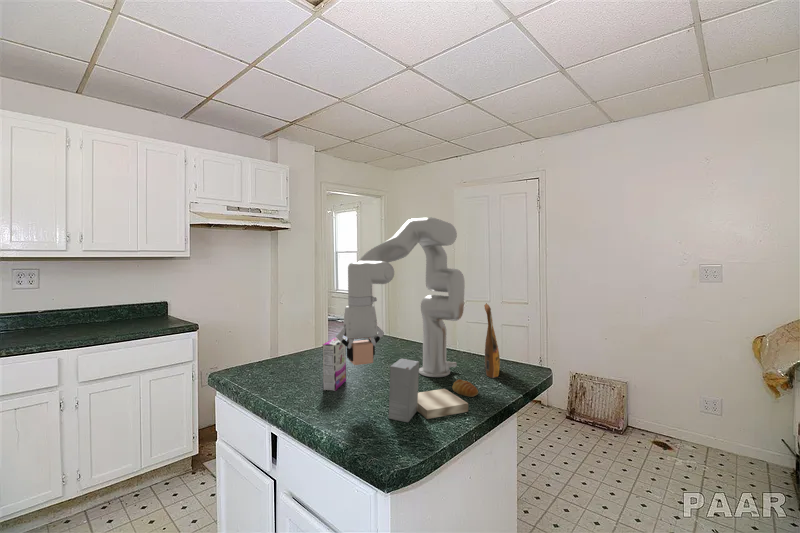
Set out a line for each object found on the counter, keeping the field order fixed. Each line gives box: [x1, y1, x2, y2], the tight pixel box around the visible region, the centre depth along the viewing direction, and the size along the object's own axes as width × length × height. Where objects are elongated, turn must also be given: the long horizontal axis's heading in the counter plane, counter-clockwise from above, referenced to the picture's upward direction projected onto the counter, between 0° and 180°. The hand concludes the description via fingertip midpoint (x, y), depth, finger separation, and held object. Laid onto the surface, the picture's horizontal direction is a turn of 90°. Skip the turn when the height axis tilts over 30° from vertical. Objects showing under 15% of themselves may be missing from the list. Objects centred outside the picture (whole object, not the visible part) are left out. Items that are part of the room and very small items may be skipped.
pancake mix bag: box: [484, 302, 501, 379], centre depth 153 cm, size 7×19×28 cm, turn 164°
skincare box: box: [388, 358, 420, 423], centre depth 110 cm, size 8×7×16 cm
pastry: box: [451, 378, 479, 398], centre depth 129 cm, size 9×7×4 cm
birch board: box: [417, 388, 469, 420], centre depth 117 cm, size 14×14×2 cm
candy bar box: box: [322, 337, 347, 392], centre depth 135 cm, size 11×5×16 cm, turn 168°
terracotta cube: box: [348, 339, 374, 366], centre depth 117 cm, size 6×6×6 cm
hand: (360, 358), depth 117 cm, fingers closed on terracotta cube, 6 cm apart
